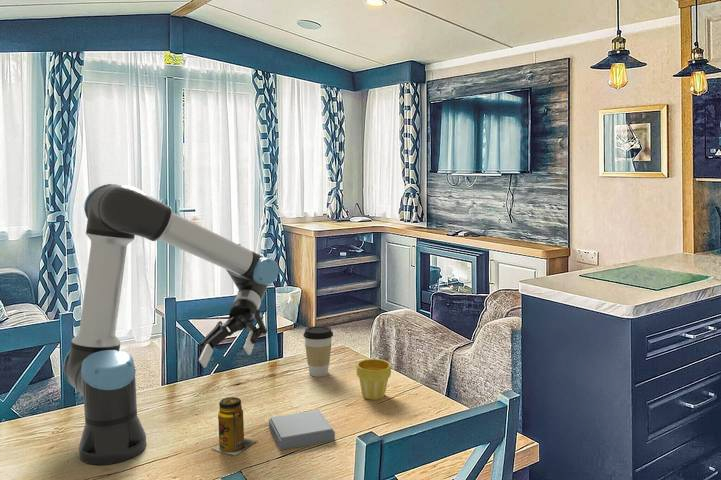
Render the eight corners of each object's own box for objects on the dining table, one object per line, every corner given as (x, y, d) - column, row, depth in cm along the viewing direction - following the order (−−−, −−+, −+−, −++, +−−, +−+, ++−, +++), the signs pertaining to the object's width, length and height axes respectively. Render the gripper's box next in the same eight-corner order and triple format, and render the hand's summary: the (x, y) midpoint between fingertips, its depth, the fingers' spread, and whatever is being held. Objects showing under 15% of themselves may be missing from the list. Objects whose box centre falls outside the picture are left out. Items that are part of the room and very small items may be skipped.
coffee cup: (335, 368, 199) (335, 325, 197) (331, 379, 189) (330, 334, 187) (306, 367, 200) (306, 325, 198) (301, 378, 190) (300, 333, 188)
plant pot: (397, 393, 177) (397, 362, 176) (379, 405, 168) (379, 372, 167) (368, 386, 183) (368, 356, 181) (349, 397, 174) (349, 365, 173)
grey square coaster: (280, 450, 142) (280, 438, 142) (269, 427, 154) (268, 416, 154) (334, 440, 147) (334, 429, 147) (319, 419, 159) (319, 408, 159)
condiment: (211, 449, 143) (209, 402, 141) (234, 435, 150) (232, 390, 149) (235, 456, 139) (233, 408, 138) (257, 441, 147) (255, 396, 145)
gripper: (288, 306, 169) (272, 356, 151) (214, 329, 175) (191, 378, 157) (276, 286, 166) (259, 334, 147) (202, 310, 172) (176, 358, 154)
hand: (224, 357), depth 152 cm, fingers open, 13 cm apart
